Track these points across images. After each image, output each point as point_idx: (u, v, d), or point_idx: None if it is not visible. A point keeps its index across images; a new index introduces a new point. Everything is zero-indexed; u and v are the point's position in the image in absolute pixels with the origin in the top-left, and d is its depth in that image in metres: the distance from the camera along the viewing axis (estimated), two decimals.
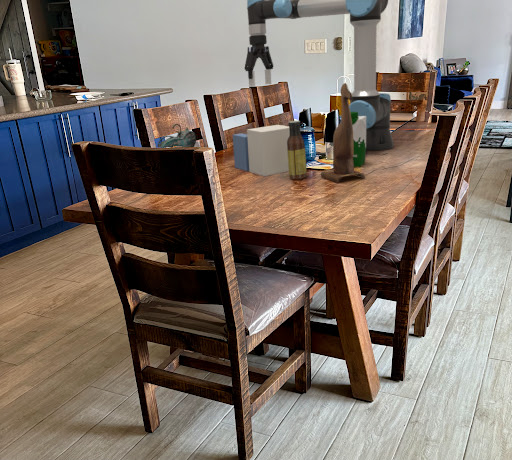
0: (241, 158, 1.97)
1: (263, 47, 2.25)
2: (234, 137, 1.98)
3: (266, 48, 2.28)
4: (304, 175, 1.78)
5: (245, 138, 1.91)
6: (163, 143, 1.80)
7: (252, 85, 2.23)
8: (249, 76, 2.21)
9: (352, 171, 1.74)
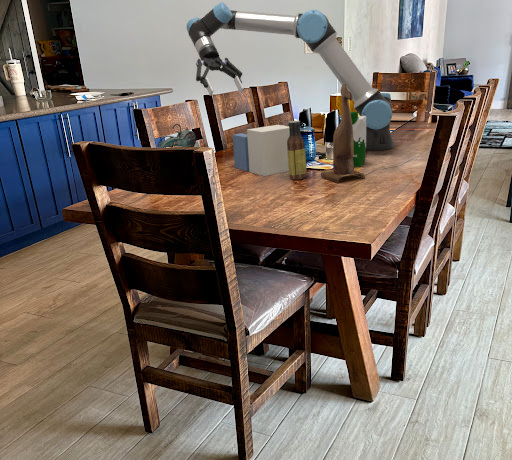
0: (241, 158, 1.97)
1: (218, 58, 2.06)
2: (234, 137, 1.98)
3: (225, 60, 2.08)
4: (304, 175, 1.78)
5: (245, 138, 1.91)
6: (163, 143, 1.80)
7: (210, 91, 1.97)
8: (204, 84, 1.98)
9: (352, 171, 1.74)
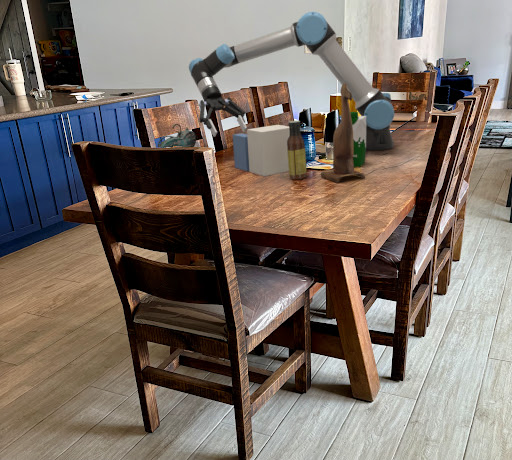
0: (241, 158, 1.97)
1: (220, 98, 2.08)
2: (234, 137, 1.98)
3: (227, 99, 2.09)
4: (304, 175, 1.78)
5: (245, 138, 1.91)
6: (163, 143, 1.80)
7: (214, 132, 1.98)
8: (207, 126, 1.99)
9: (352, 171, 1.74)
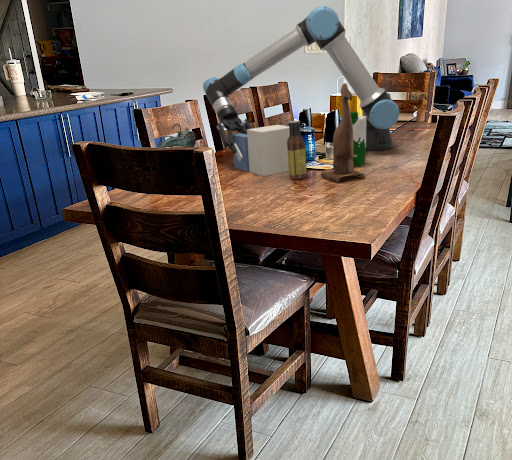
0: None
1: (237, 118, 2.02)
2: (234, 137, 1.98)
3: (244, 121, 2.03)
4: (304, 175, 1.78)
5: (245, 138, 1.91)
6: (163, 143, 1.80)
7: (240, 157, 1.94)
8: (232, 150, 1.95)
9: (352, 171, 1.74)
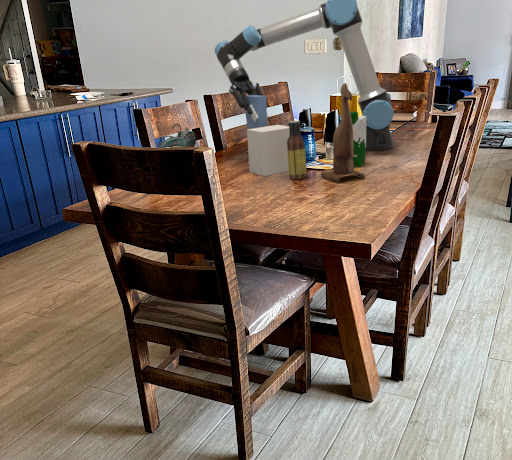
0: None
1: (248, 81, 2.05)
2: None
3: (255, 84, 2.06)
4: (304, 175, 1.78)
5: (258, 98, 1.94)
6: (163, 143, 1.80)
7: (255, 118, 1.97)
8: (248, 111, 1.98)
9: (352, 171, 1.74)
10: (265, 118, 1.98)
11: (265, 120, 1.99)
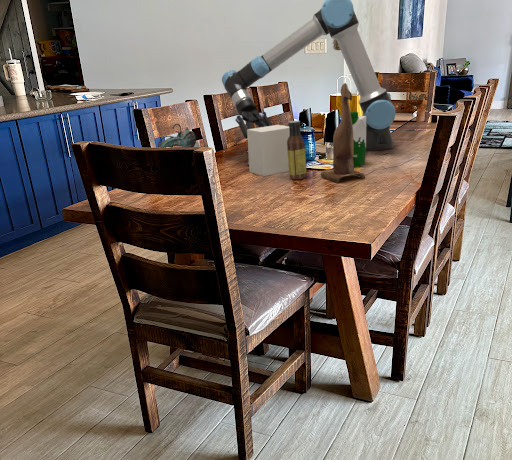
0: None
1: (255, 111, 2.06)
2: None
3: (262, 113, 2.07)
4: (304, 175, 1.78)
5: None
6: (163, 143, 1.80)
7: None
8: None
9: (352, 171, 1.74)
10: None
11: None
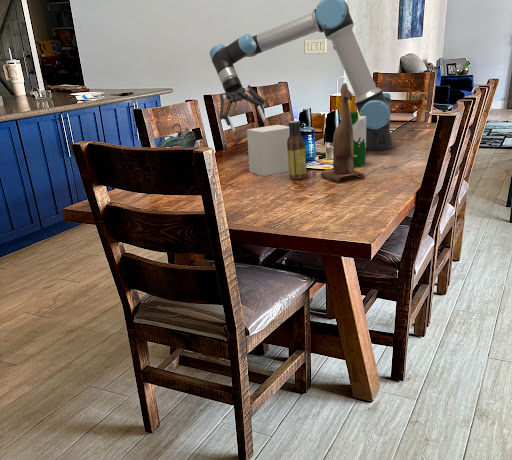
0: None
1: (240, 88, 2.12)
2: None
3: (247, 88, 2.13)
4: (304, 175, 1.78)
5: None
6: (163, 143, 1.80)
7: (233, 130, 2.09)
8: None
9: (352, 171, 1.74)
10: None
11: None
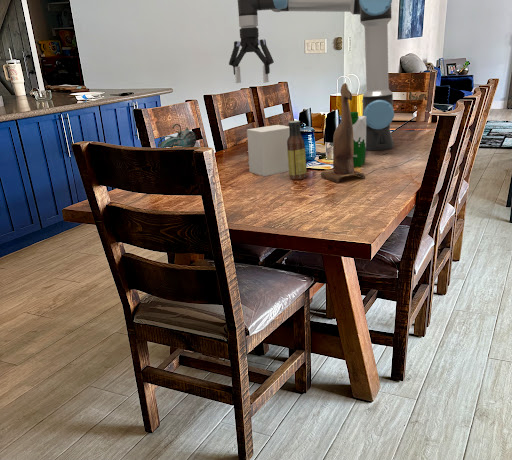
0: None
1: (253, 41, 2.03)
2: None
3: None
4: (304, 175, 1.78)
5: None
6: (163, 143, 1.80)
7: None
8: None
9: (352, 171, 1.74)
10: None
11: None
